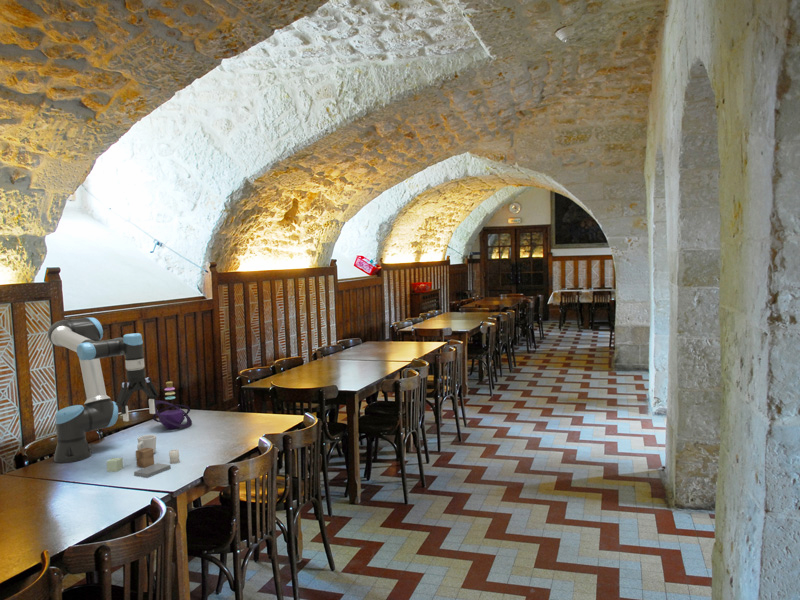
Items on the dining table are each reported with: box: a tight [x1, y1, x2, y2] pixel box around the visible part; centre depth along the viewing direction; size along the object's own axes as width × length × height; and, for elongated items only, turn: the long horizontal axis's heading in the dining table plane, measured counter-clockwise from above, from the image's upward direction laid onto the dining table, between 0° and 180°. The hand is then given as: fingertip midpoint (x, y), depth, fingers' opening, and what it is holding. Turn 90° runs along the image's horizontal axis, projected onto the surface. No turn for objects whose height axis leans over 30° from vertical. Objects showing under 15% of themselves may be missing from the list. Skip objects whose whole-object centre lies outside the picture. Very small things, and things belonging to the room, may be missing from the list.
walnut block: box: [135, 448, 155, 469], centre depth 269 cm, size 5×5×7 cm
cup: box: [136, 434, 157, 454], centre depth 285 cm, size 11×8×8 cm
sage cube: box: [106, 457, 124, 473], centre depth 265 cm, size 4×4×4 cm
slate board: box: [133, 462, 172, 479], centre depth 260 cm, size 8×12×2 cm, turn 152°
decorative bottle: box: [152, 380, 193, 430], centre depth 331 cm, size 22×21×25 cm
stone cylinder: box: [168, 449, 180, 465], centre depth 272 cm, size 4×4×5 cm
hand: (139, 417), depth 270 cm, fingers open, 13 cm apart
